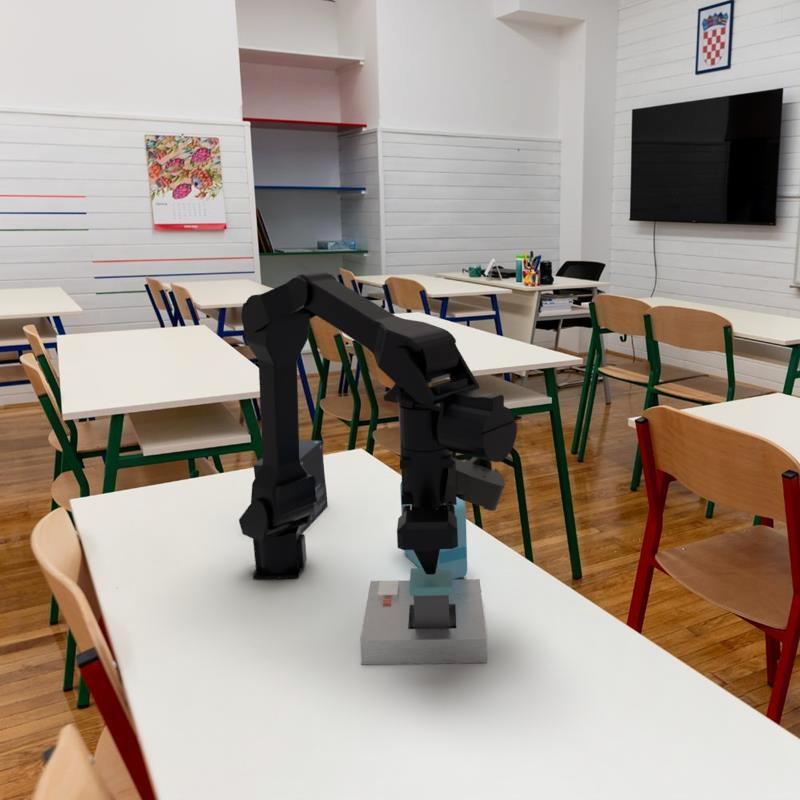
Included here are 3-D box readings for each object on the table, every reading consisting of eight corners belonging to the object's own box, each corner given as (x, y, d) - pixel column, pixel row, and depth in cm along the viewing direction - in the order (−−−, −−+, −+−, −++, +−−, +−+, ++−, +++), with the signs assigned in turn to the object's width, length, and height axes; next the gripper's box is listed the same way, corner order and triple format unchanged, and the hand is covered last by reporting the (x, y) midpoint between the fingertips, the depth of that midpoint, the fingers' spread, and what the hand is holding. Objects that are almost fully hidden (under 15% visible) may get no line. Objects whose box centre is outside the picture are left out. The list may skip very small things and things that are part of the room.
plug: (412, 651, 89) (409, 587, 87) (413, 628, 94) (410, 568, 92) (453, 650, 89) (452, 587, 87) (453, 628, 94) (451, 567, 92)
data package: (468, 580, 105) (466, 497, 102) (438, 588, 104) (435, 504, 101) (430, 547, 116) (427, 471, 113) (402, 553, 114) (399, 476, 111)
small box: (291, 503, 136) (286, 438, 133) (328, 506, 134) (323, 439, 131) (258, 534, 123) (252, 463, 120) (298, 537, 121) (292, 465, 118)
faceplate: (361, 664, 87) (360, 635, 86) (371, 602, 101) (370, 576, 100) (487, 662, 86) (486, 633, 85) (480, 600, 100) (479, 574, 99)
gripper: (506, 470, 76) (508, 613, 80) (493, 418, 94) (494, 537, 98) (393, 473, 77) (400, 615, 80) (401, 421, 95) (406, 539, 99)
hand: (430, 573), depth 89 cm, fingers closed
